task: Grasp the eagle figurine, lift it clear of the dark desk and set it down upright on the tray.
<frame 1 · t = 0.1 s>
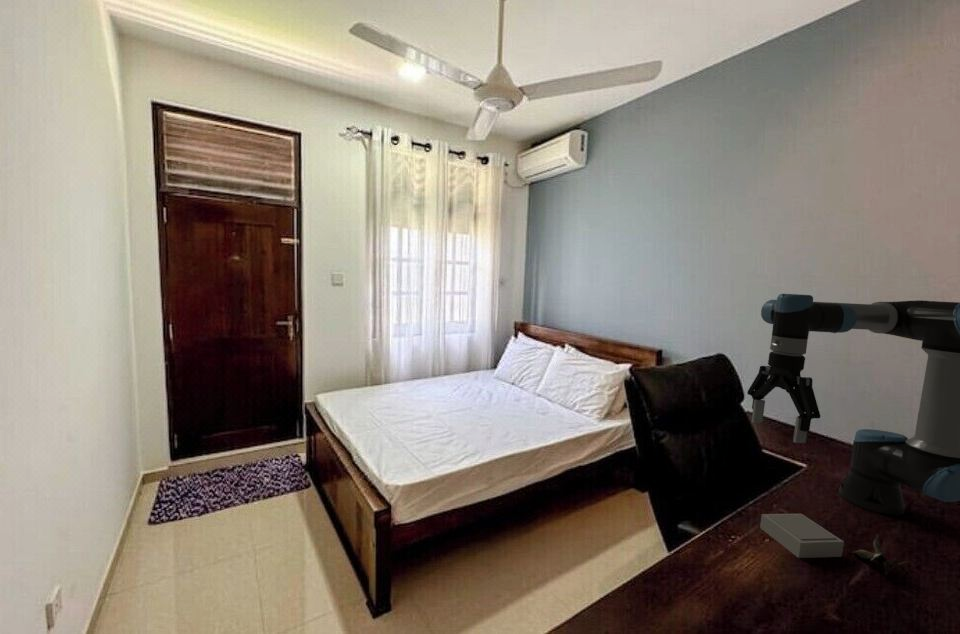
hand: (776, 432, 108), 28 cm above the table, fingers open, 13 cm apart
eagle figurine: (874, 565, 100), on the table
tray: (798, 541, 107), on the table
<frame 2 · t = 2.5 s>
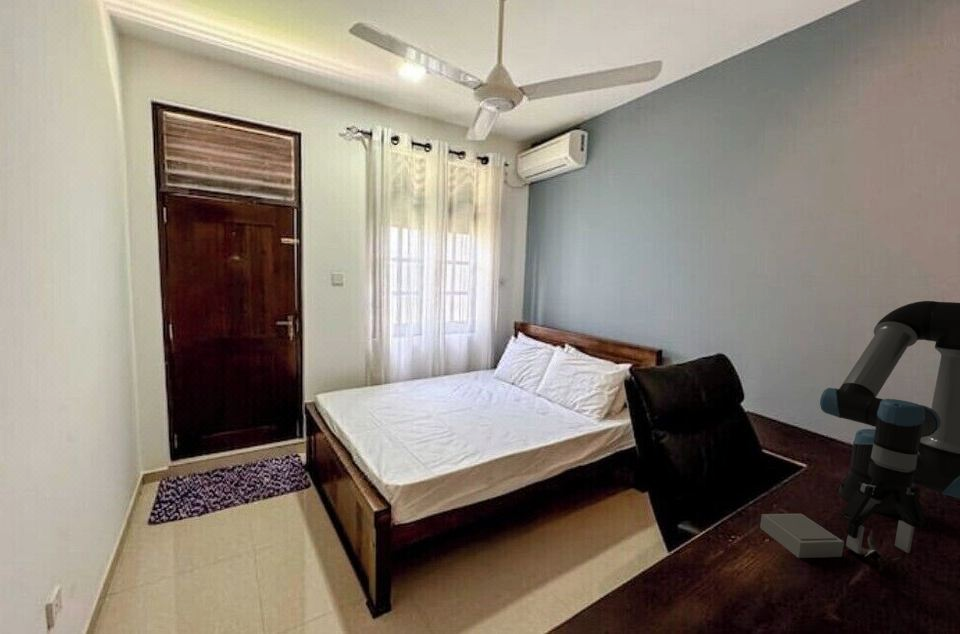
hand: (877, 549, 99), 4 cm above the table, fingers open, 13 cm apart
eagle figurine: (868, 561, 101), on the table
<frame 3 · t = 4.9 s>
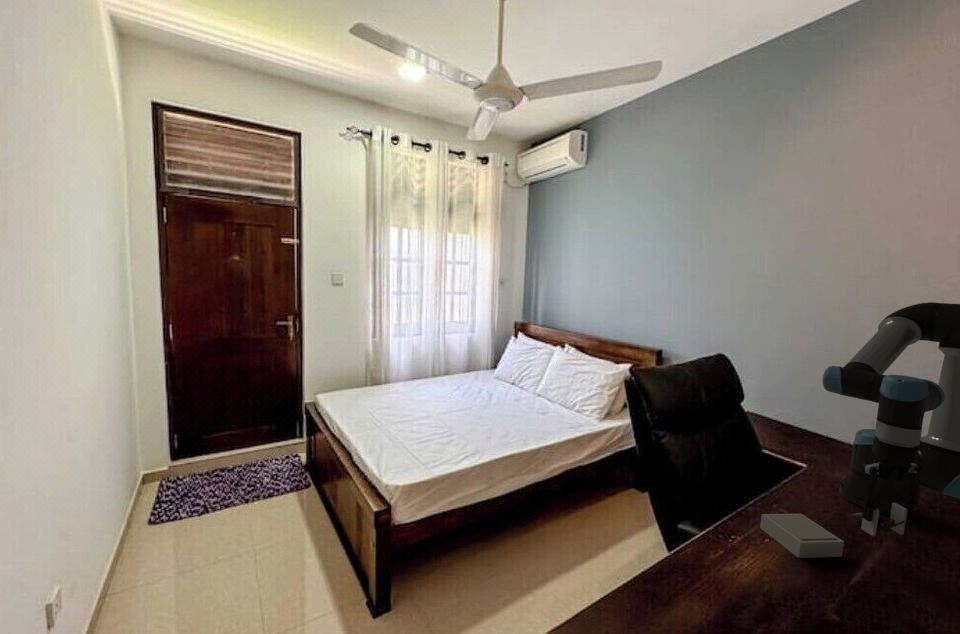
hand: (882, 531, 99), 8 cm above the table, fingers closed on eagle figurine, 7 cm apart
eagle figurine: (871, 526, 102), point 8 cm above the table, touching gripper
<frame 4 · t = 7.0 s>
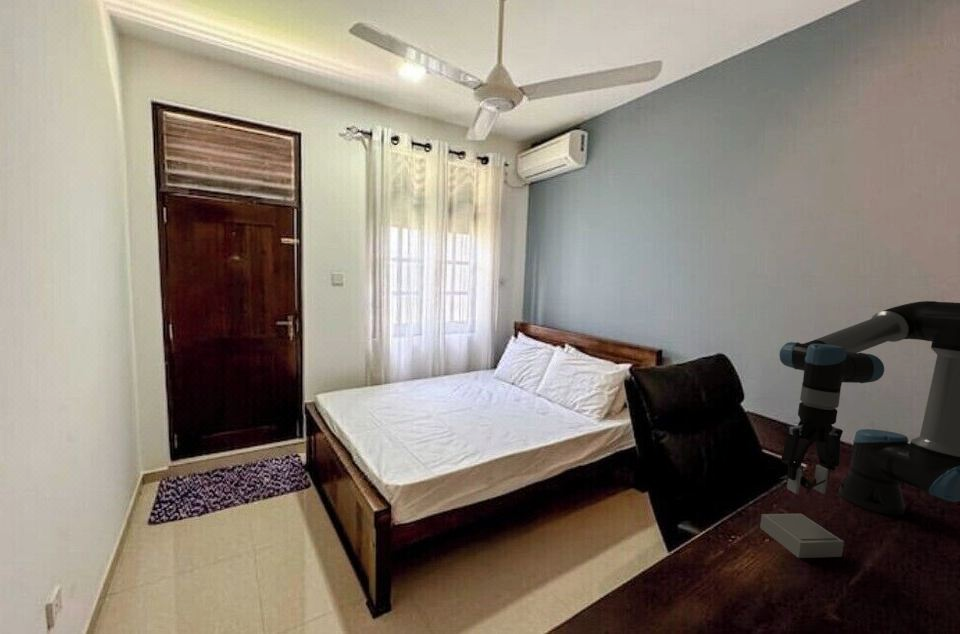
hand: (805, 490, 105), 14 cm above the table, fingers closed on eagle figurine, 7 cm apart
eagle figurine: (798, 487, 108), point 13 cm above the table, touching gripper
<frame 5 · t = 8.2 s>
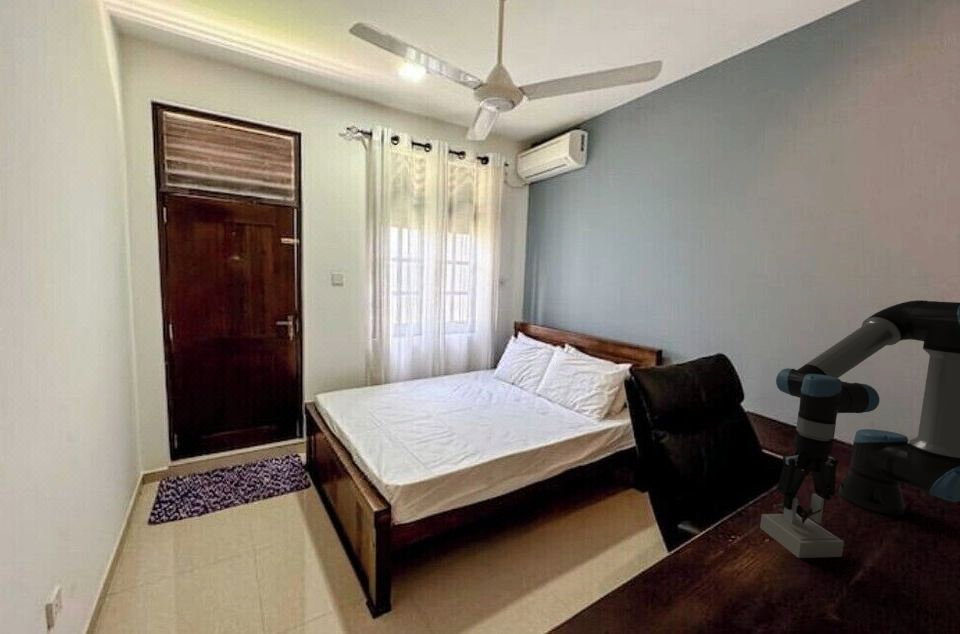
hand: (801, 519, 106), 6 cm above the table, fingers closed on eagle figurine, 7 cm apart
eagle figurine: (794, 515, 109), point 5 cm above the table, touching gripper
when the fingers open (5 cm above the table, at t = 9.3 s): eagle figurine stays where it is, resting on tray.
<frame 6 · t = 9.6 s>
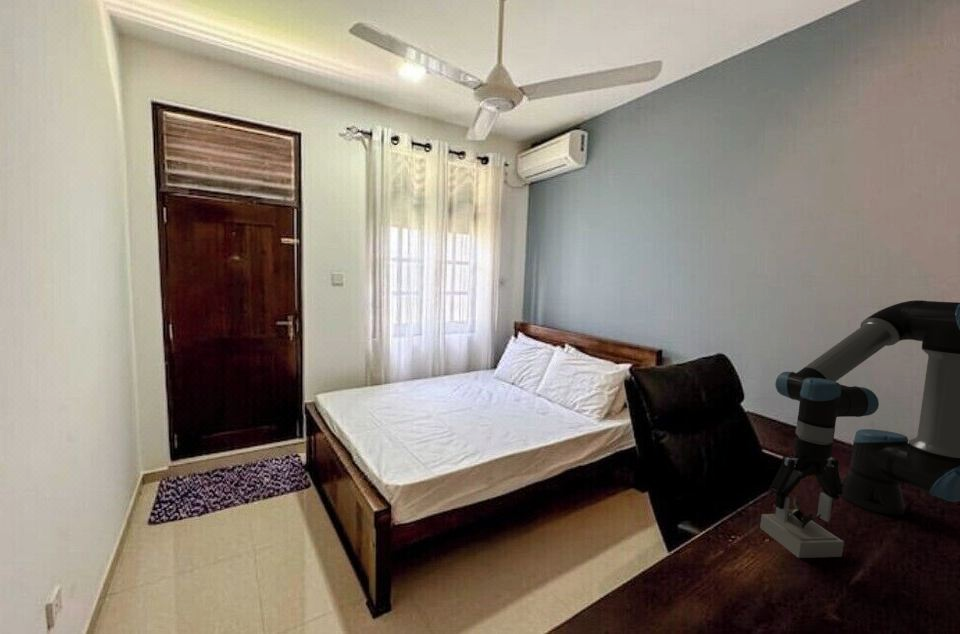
hand: (802, 519, 106), 6 cm above the table, fingers open, 11 cm apart
eagle figurine: (794, 520, 109), point 4 cm above the table, touching tray
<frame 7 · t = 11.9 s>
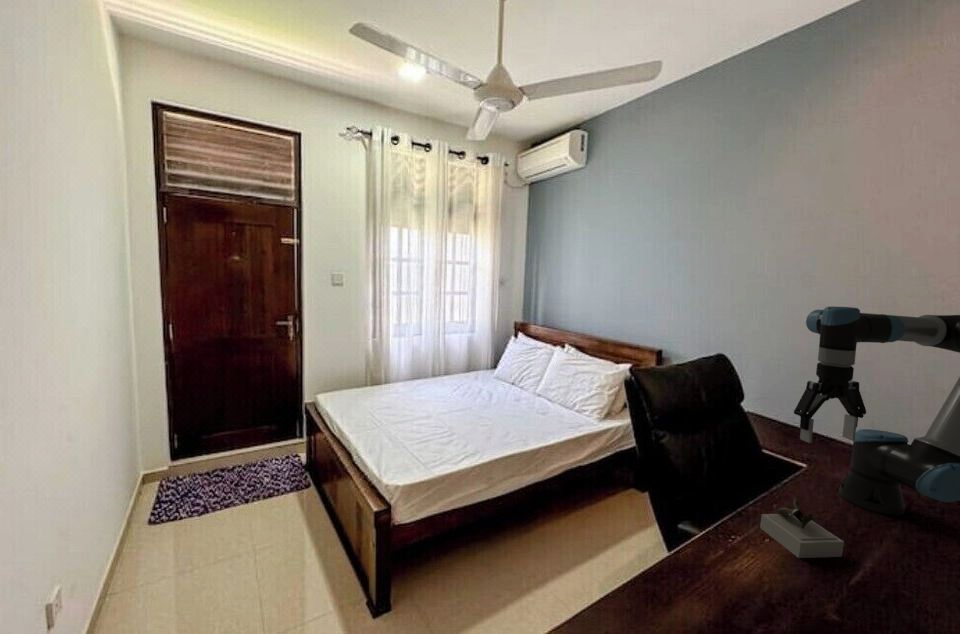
hand: (827, 439, 112), 25 cm above the table, fingers open, 13 cm apart
nothing on the table moved.
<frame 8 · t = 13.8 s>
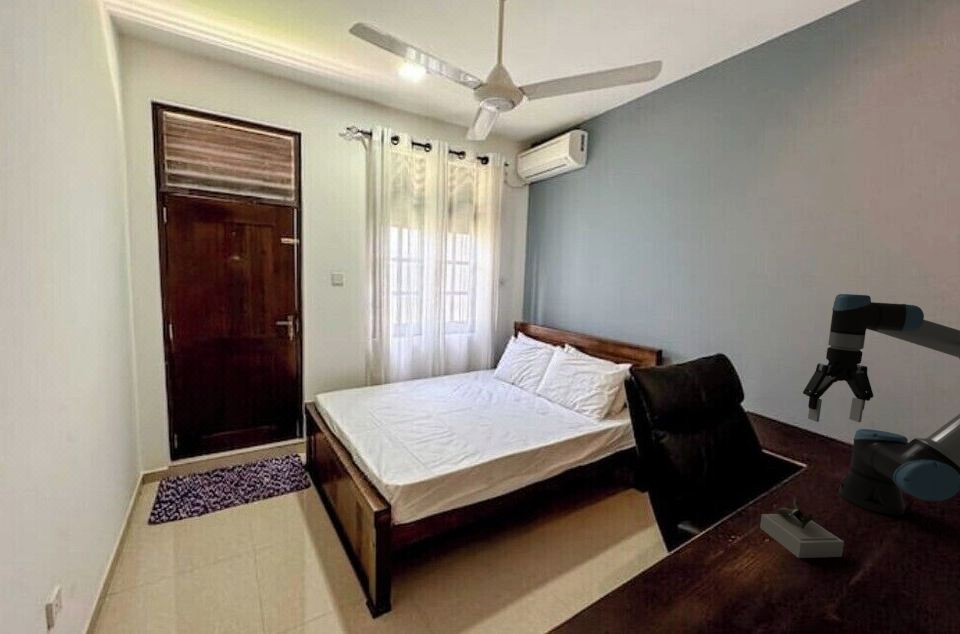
hand: (834, 420, 118), 29 cm above the table, fingers open, 13 cm apart
nothing on the table moved.
at the end: eagle figurine inside the target area on the tray (2.8 cm from its centre), point 4.1 cm above the tray's base; eagle figurine tilted 0°; the gripper is holding nothing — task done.
